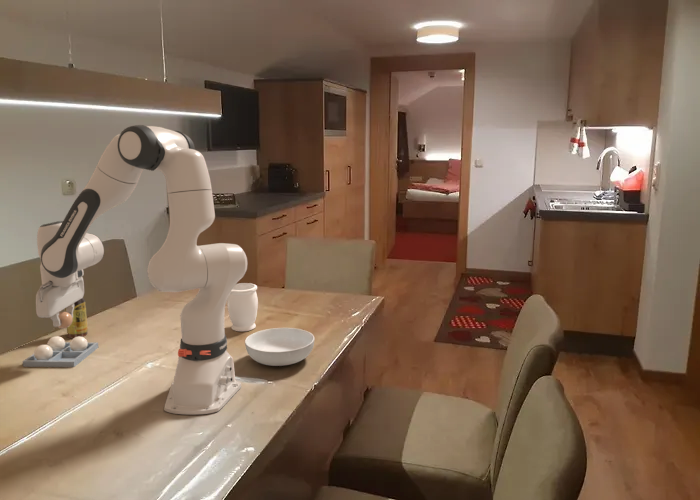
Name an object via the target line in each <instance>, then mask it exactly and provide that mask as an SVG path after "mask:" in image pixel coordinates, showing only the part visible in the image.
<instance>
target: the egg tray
mask: <svg viewBox="0 0 700 500" xmlns="http://www.w3.org/2000/svg"><path fill="white" fill-rule="evenodd" d="M70 342H71V341H70ZM70 342H68V341H67V342H66V341H65V347H64V349H63V350H62V351H53V355H52V357H51V358H50V359H49V360H37V359H36V358H35V356H34V353H32V354H31V355H30V356H28V357H27V358H25V359H24V360H22V367H28V368H31V367H32V368H33V367H35V368H38V367H39V368H42V367H43V368H47V367H48V368H76V366H77V365H79V364H80V363H81V362H82V361H84V360H85V359H86V358H87V357H89V356H90V355H92V354H93V353H94V352H95V351H96V350H98V348H99V342H88V341H87V342H88V346H87V348H86V350H84V351H72V350H71V348H70Z"/></svg>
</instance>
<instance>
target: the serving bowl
mask: <svg viewBox="0 0 700 500" xmlns="http://www.w3.org/2000/svg"><path fill="white" fill-rule="evenodd" d="M244 345H245V350H246V352H247V354H248V355H249V357H250V358H251V359H252V360H253V361H255V362H257V363H259V364H261V365H264V366H265V365H266V366H272V367H278V366H279V367H282V366H283V367H284V366H290V365H293V364H296V363H299V362H301V361H303V360H305V359H306V358H307V357H308V356H309V355H310V354H311V353H312V351H313V349H314V345H315V336H314V334H313V333H312V332H310V331H307V330H305V329H301V328H295V327H275V328H267V329H262V330H258V331H256V332H254V333H251V334H249V335H248V336H247V337H246V338H245V339H244Z"/></svg>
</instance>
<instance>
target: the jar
mask: <svg viewBox="0 0 700 500" xmlns="http://www.w3.org/2000/svg"><path fill="white" fill-rule="evenodd" d="M257 290H258V285H256V284H254V283H251V282H249V283H248V282H241V283H236V284H235V286H234V287H233V289H232V290H231V292H230V294H229V296H228V299H227V302H226V305H227V311H228V316H229V320H230V322H231V324H232V325H231V328H230V329H231V330H232V331H235V332H248V331H251V330H254V329H255V328H256V327H257V325H256V323H255V322H256V320H257V315H258V308H259V307H258V306H259V299H258V294H257Z"/></svg>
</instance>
